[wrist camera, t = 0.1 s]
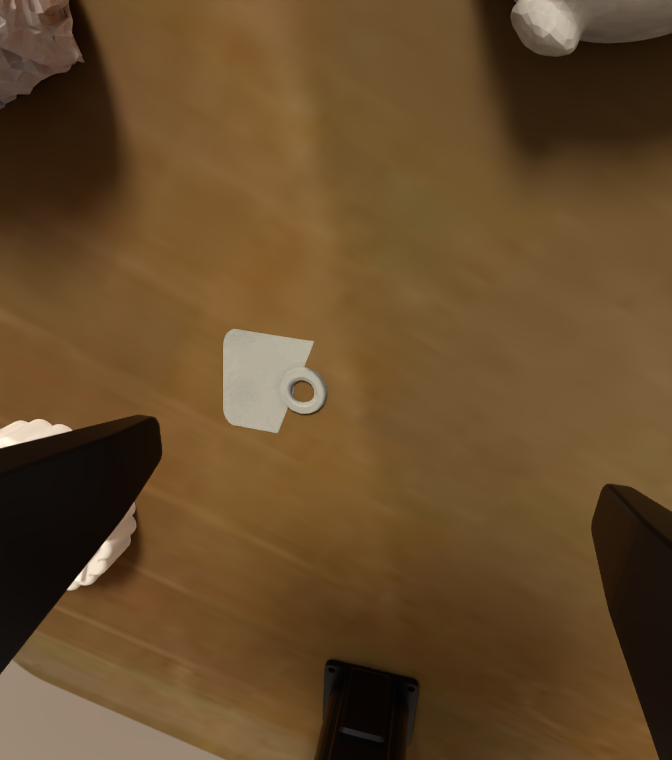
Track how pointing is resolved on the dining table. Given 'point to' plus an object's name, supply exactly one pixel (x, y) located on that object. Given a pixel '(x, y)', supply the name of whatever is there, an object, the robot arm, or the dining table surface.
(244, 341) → the mounting bracket
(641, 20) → the dish
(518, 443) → the dining table surface
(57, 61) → the food item
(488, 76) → the dining table surface
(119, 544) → the mooncake
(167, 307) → the dining table surface
